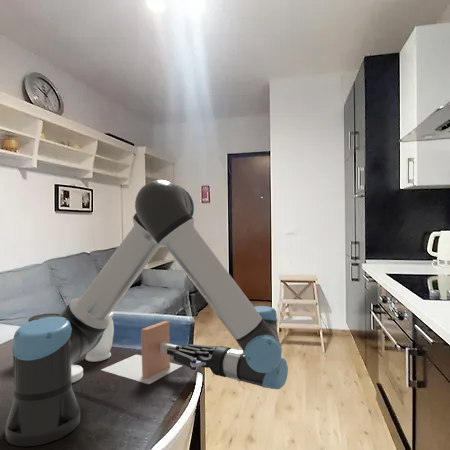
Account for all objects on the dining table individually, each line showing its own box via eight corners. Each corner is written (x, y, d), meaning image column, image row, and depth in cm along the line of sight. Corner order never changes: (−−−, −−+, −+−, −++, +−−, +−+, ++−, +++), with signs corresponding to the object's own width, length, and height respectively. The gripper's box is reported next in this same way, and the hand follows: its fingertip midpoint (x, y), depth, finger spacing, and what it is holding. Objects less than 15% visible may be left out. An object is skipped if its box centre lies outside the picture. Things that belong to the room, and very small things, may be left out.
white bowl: (75, 372, 113) (74, 361, 113) (89, 382, 106) (88, 370, 106) (40, 382, 106) (40, 370, 106) (53, 394, 99) (52, 381, 99)
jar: (93, 351, 131) (92, 309, 131) (119, 352, 129) (119, 310, 129) (75, 362, 121) (74, 317, 120) (103, 364, 118) (103, 318, 118)
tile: (170, 366, 113) (169, 321, 113) (147, 378, 105) (146, 330, 105) (164, 365, 115) (163, 320, 114) (141, 376, 106) (140, 328, 106)
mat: (182, 368, 114) (182, 365, 114) (149, 387, 101) (149, 384, 101) (136, 357, 124) (136, 354, 124) (100, 373, 112) (100, 369, 112)
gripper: (216, 386, 91) (146, 367, 104) (241, 368, 102) (176, 353, 115) (215, 356, 91) (146, 341, 103) (241, 341, 102) (175, 329, 115)
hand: (162, 347), depth 109 cm, fingers closed
